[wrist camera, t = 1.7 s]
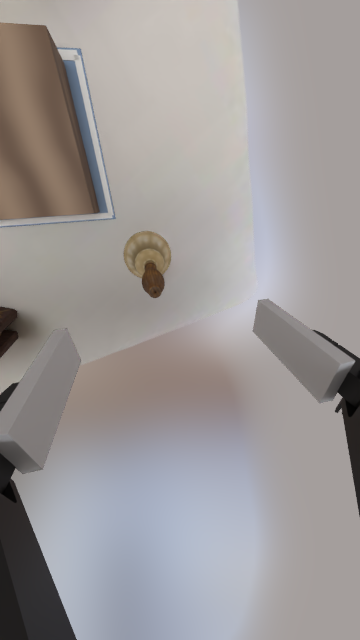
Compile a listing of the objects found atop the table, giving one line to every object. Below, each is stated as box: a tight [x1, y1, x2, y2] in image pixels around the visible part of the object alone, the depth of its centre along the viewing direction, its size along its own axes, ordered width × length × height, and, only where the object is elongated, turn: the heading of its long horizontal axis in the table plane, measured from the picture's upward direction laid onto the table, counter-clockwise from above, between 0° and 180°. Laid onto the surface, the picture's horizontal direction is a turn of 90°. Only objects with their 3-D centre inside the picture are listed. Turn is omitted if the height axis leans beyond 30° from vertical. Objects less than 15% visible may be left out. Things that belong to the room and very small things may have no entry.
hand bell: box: [124, 231, 171, 298], centre depth 26 cm, size 8×8×16 cm
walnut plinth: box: [0, 23, 100, 220], centre depth 21 cm, size 14×14×5 cm
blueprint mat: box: [0, 48, 116, 227], centre depth 23 cm, size 18×16×1 cm
